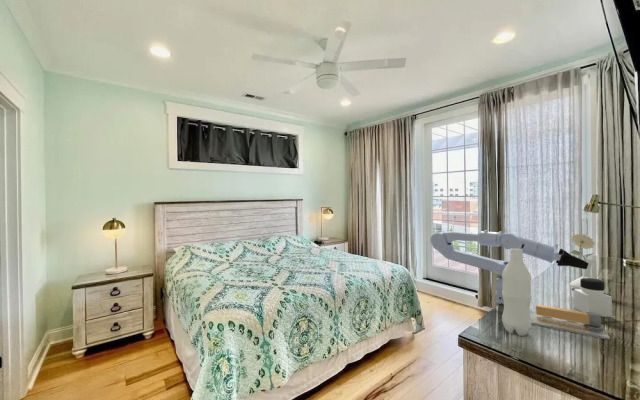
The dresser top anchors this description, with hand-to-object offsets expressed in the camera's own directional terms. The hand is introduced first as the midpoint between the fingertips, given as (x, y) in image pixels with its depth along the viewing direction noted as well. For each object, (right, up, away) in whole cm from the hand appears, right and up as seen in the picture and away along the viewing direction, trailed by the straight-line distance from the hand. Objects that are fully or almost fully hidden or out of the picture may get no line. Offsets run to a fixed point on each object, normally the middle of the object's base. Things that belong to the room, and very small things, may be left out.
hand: (585, 265), depth 94 cm
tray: (-12, -18, -5) cm, 22 cm away
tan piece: (-11, -16, -5) cm, 20 cm away
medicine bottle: (+6, -18, +4) cm, 19 cm away
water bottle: (-31, -18, -11) cm, 38 cm away
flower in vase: (+27, -18, +28) cm, 43 cm away
